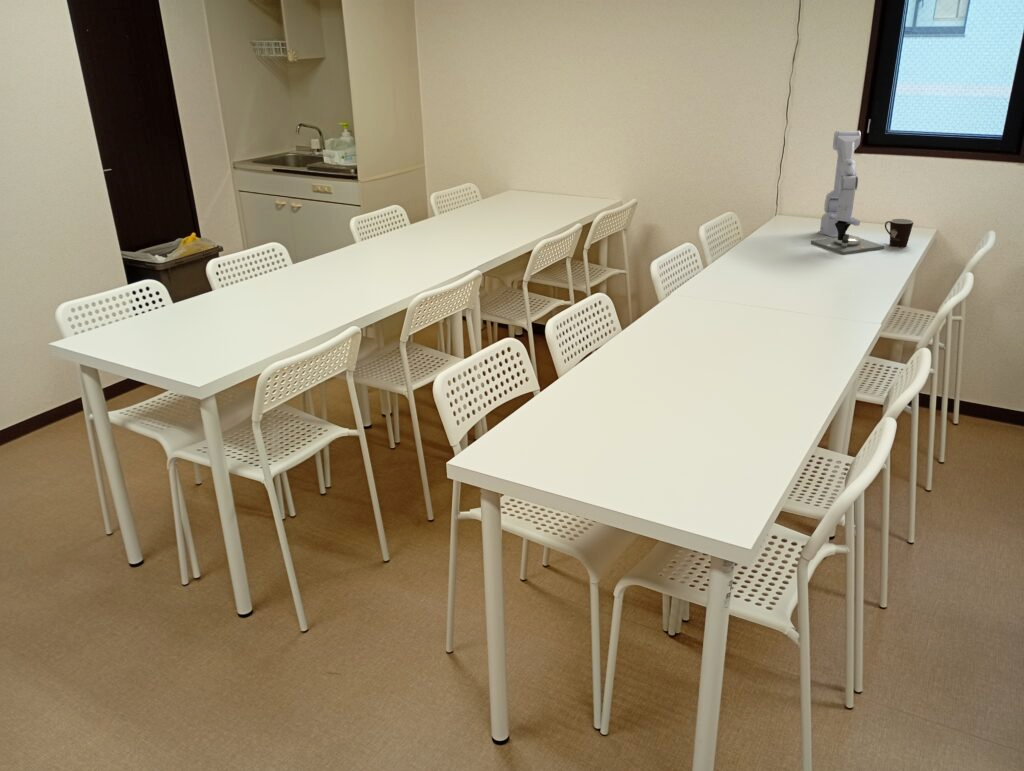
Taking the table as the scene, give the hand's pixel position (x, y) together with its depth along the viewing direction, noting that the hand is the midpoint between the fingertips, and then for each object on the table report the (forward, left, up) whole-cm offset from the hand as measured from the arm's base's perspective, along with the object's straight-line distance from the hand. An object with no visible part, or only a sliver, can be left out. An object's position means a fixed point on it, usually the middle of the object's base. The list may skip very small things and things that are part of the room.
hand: (840, 239), depth 335 cm
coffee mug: (+4, +25, -4) cm, 26 cm away
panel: (-3, +6, -4) cm, 8 cm away
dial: (-2, +5, -3) cm, 6 cm away
